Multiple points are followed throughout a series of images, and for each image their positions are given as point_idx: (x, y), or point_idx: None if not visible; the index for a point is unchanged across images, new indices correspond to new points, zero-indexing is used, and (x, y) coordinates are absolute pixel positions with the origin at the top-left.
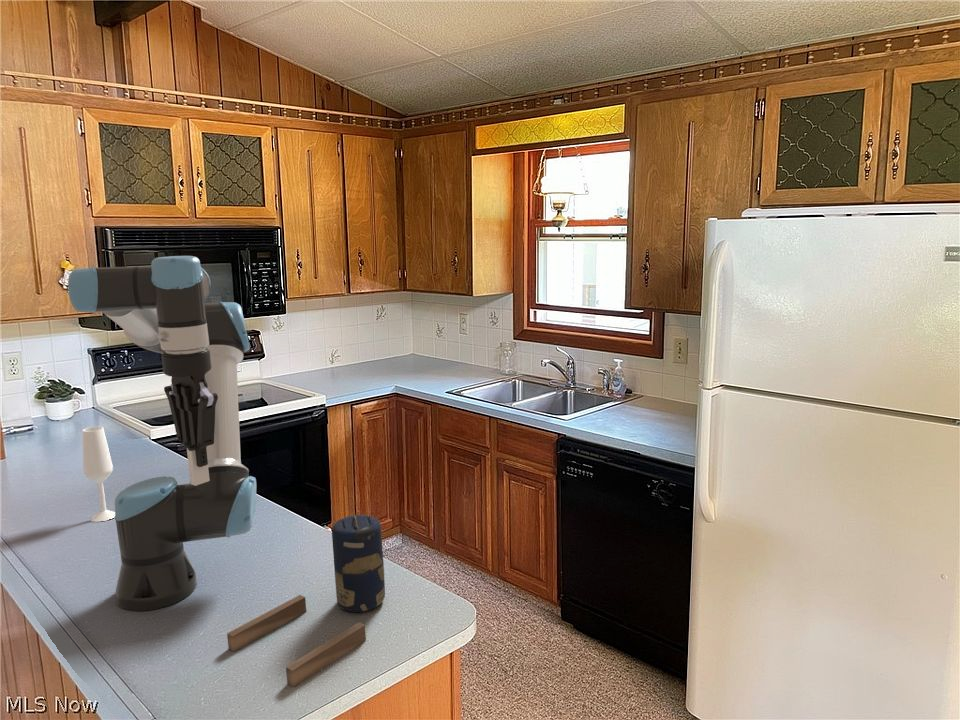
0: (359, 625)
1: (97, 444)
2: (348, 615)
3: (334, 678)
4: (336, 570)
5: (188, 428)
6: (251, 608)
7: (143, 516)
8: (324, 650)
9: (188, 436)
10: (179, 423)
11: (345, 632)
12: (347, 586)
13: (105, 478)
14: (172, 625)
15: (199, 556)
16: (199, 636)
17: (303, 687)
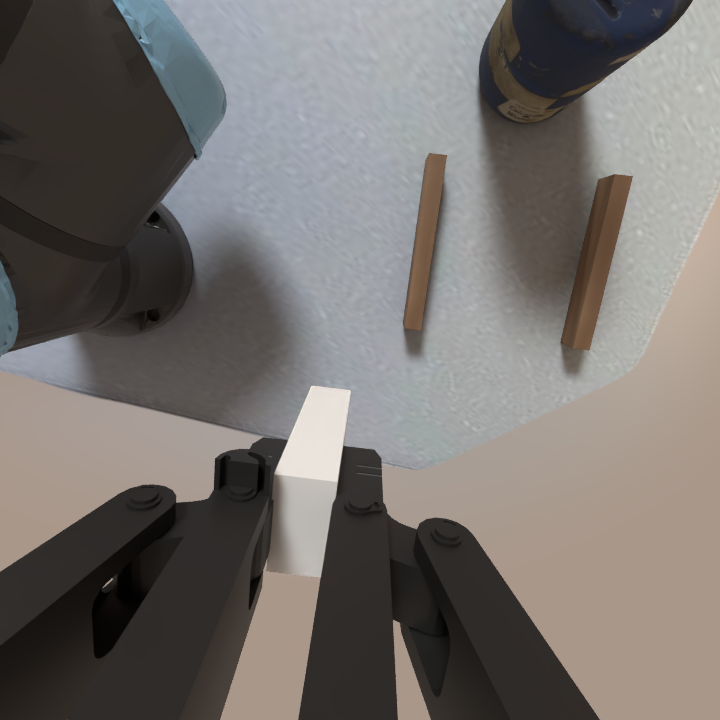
0: (622, 183)
1: None
2: (531, 127)
3: (624, 296)
4: (534, 92)
5: (225, 682)
6: (335, 210)
7: (28, 329)
8: (606, 281)
9: (246, 619)
10: (62, 705)
11: (610, 217)
12: (558, 105)
13: None
14: (256, 323)
15: None
16: (328, 323)
17: None
